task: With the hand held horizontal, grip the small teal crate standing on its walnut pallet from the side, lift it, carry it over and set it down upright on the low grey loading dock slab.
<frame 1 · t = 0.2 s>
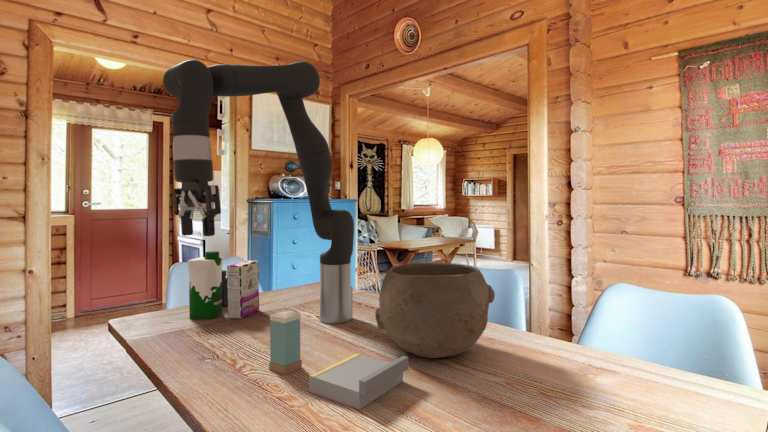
hand: (198, 235, 89), 28 cm above the table, tool pointing down, fingers open, 8 cm apart
candy bar box: (243, 314, 132), on the table
bowl: (432, 352, 99), on the table
supplement bottle: (219, 306, 143), on the table
pallet crate: (285, 368, 89), on the table
milk carton: (206, 316, 130), on the table
dock: (357, 386, 80), on the table
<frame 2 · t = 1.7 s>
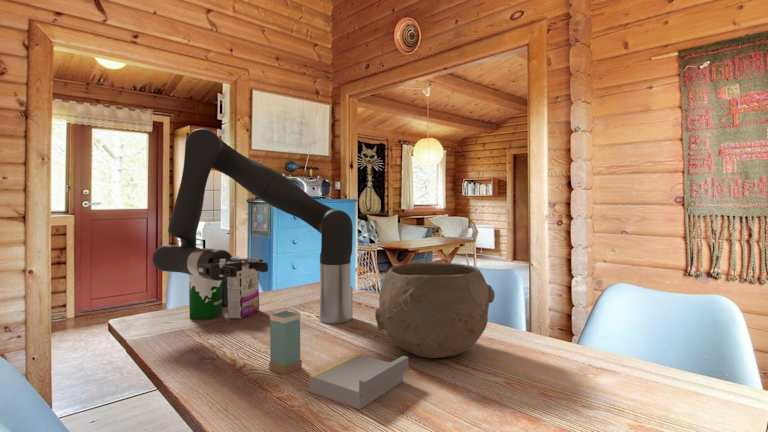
hand: (251, 269, 95), 20 cm above the table, tool horizontal, fingers open, 8 cm apart
nothing on the table moved.
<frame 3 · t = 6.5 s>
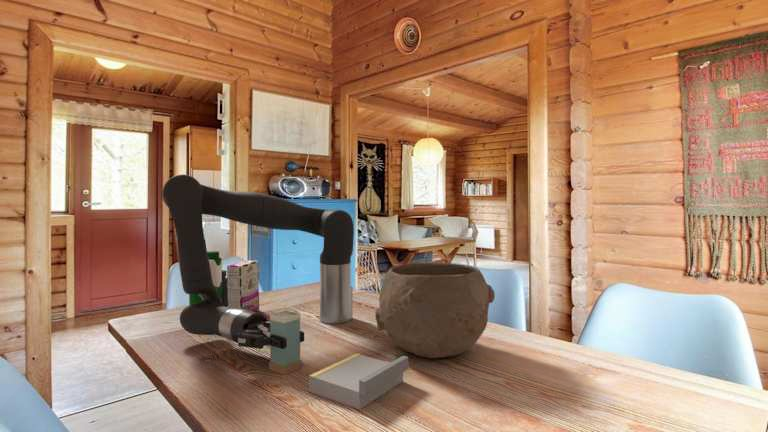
hand: (294, 340, 87), 7 cm above the table, tool horizontal, fingers closed on pallet crate, 4 cm apart
pallet crate: (285, 368, 89), on the table, touching gripper
everything else where it was.
when the fingers open (11 cm above the table, at t = 10.8 s): pallet crate drops 1 cm, resting on dock.
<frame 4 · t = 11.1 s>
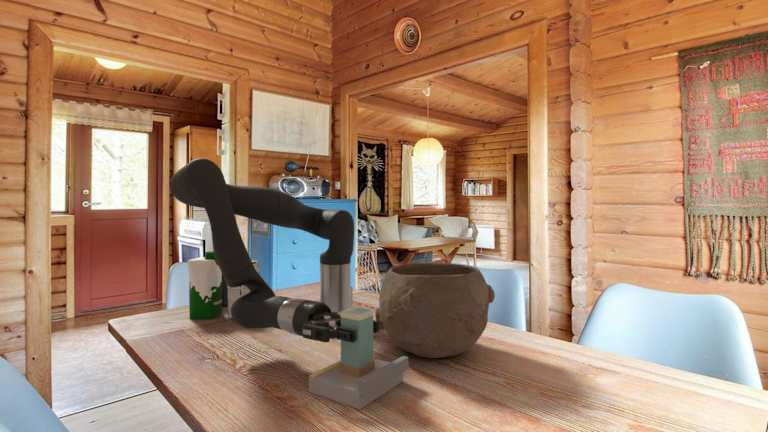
hand: (366, 331, 79), 11 cm above the table, tool horizontal, fingers open, 6 cm apart
pallet crate: (357, 370, 80), point 3 cm above the table, touching dock
everything else where it was.
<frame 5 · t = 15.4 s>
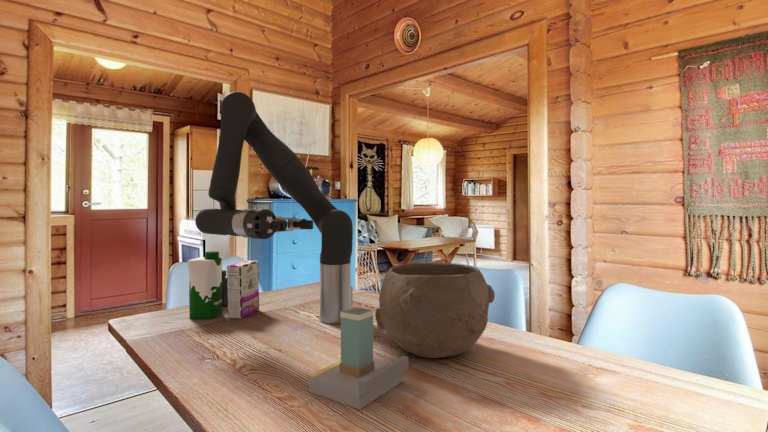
hand: (299, 225, 97), 30 cm above the table, tool horizontal, fingers open, 8 cm apart
nothing on the table moved.
at the end: pallet crate 0.0 cm from the dock (horizontally); pallet crate tilted 0°; pallet crate touching dock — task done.
